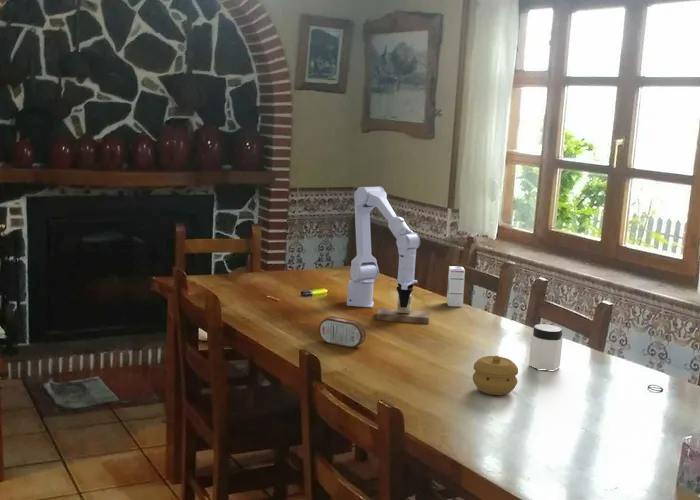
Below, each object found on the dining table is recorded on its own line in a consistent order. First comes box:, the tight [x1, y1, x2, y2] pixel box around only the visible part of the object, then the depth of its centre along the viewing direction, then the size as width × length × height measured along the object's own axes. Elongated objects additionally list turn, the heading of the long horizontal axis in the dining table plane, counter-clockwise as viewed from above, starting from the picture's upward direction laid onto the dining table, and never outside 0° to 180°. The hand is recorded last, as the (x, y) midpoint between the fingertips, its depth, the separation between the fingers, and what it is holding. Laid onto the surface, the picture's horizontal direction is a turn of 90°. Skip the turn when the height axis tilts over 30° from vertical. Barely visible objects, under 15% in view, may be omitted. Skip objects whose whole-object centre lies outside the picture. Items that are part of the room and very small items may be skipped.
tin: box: [318, 315, 367, 349], centre depth 248 cm, size 15×3×8 cm, turn 65°
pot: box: [472, 355, 519, 396], centre depth 214 cm, size 12×12×10 cm
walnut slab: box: [376, 307, 430, 325], centre depth 284 cm, size 18×9×2 cm, turn 83°
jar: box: [528, 323, 564, 370], centre depth 237 cm, size 9×8×12 cm
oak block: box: [396, 293, 413, 313], centre depth 283 cm, size 4×4×6 cm
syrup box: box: [446, 265, 466, 308], centre depth 307 cm, size 6×6×14 cm
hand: (404, 305), depth 283 cm, fingers closed on oak block, 4 cm apart
